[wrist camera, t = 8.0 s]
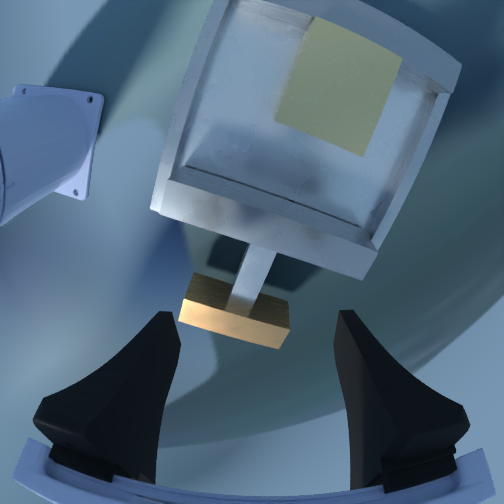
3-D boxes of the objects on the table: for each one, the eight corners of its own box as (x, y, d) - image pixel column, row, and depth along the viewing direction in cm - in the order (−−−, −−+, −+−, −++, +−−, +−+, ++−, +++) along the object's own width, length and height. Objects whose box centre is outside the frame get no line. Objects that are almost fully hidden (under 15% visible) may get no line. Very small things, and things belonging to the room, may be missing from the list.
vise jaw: (156, 282, 21) (143, 308, 19) (182, 165, 17) (167, 179, 14) (307, 328, 23) (311, 356, 20) (364, 229, 18) (378, 252, 16)
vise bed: (162, 195, 20) (136, 223, 16) (237, -24, 12) (227, -56, 8) (352, 259, 21) (369, 298, 17) (440, 65, 14) (481, 63, 10)
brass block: (272, 115, 15) (274, 121, 11) (302, 38, 13) (315, 16, 9) (337, 140, 16) (362, 157, 12) (366, 67, 14) (402, 58, 9)
